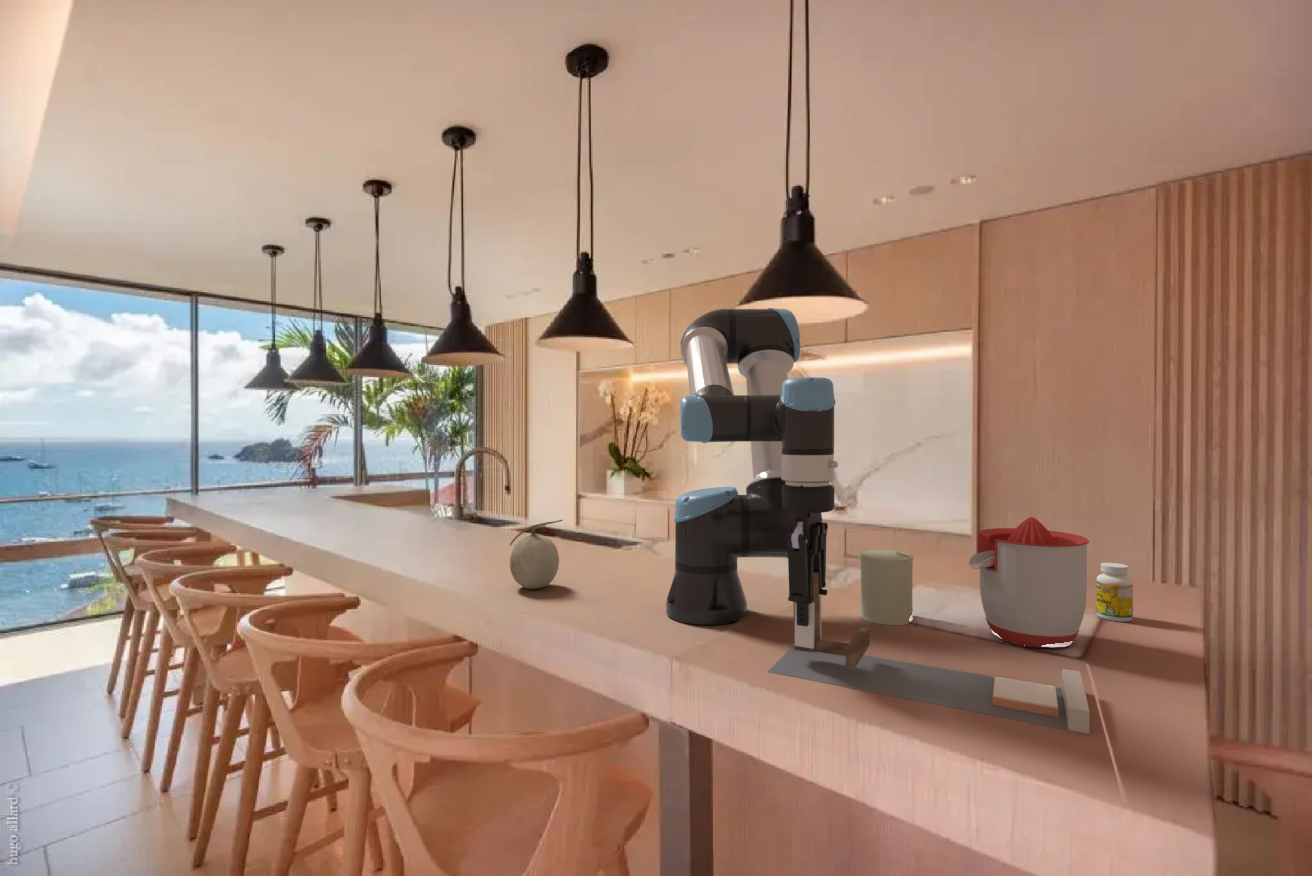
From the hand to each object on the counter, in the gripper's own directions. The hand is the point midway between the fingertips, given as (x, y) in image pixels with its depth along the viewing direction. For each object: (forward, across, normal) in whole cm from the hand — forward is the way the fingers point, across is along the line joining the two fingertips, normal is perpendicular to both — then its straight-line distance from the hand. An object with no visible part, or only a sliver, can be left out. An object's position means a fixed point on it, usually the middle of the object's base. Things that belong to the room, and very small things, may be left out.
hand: (808, 642), depth 95 cm
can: (+3, +29, -6) cm, 30 cm away
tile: (+3, 0, -28) cm, 28 cm away
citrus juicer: (+4, +28, -28) cm, 40 cm away
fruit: (+3, +15, +65) cm, 67 cm away
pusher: (+1, 0, -3) cm, 3 cm away
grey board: (+3, 0, -15) cm, 15 cm away
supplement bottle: (+3, +48, -42) cm, 64 cm away
